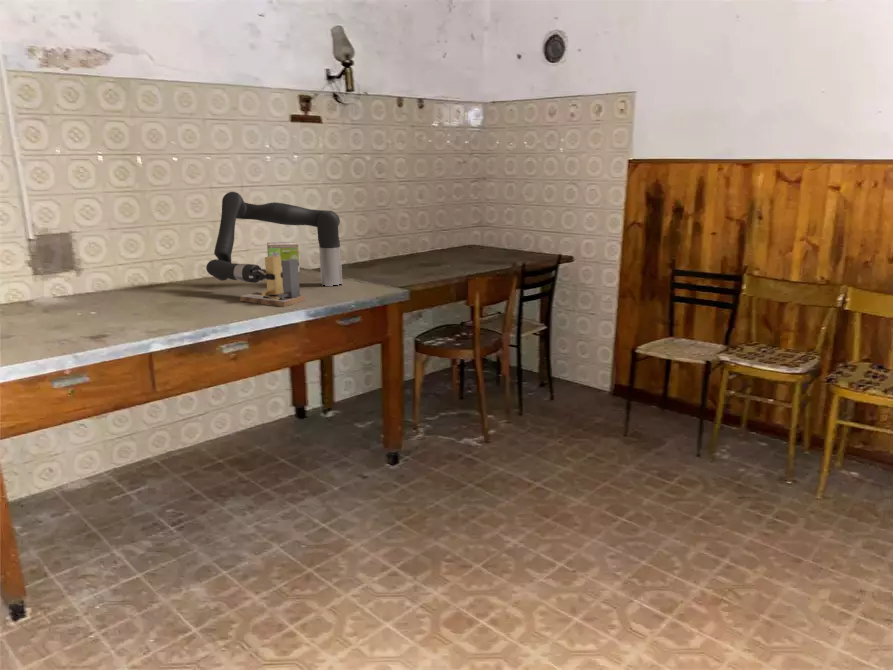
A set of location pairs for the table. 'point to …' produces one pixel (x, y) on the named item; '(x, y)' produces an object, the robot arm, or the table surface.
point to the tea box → (284, 250)
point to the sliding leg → (274, 268)
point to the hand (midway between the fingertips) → (279, 276)
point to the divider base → (269, 302)
